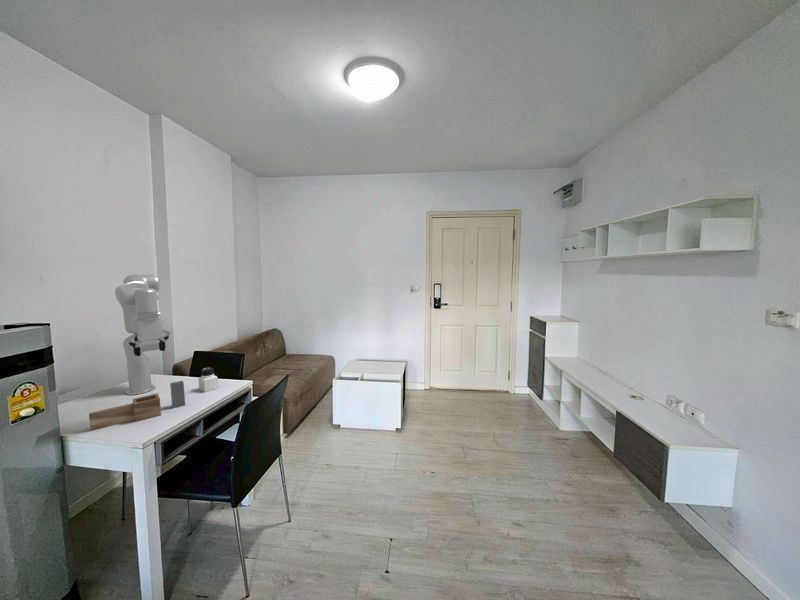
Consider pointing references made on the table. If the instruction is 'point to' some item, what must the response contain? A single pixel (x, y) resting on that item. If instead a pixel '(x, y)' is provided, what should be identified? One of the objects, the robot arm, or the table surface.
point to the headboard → (126, 412)
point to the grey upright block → (177, 394)
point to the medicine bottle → (208, 380)
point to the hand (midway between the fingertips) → (150, 353)
